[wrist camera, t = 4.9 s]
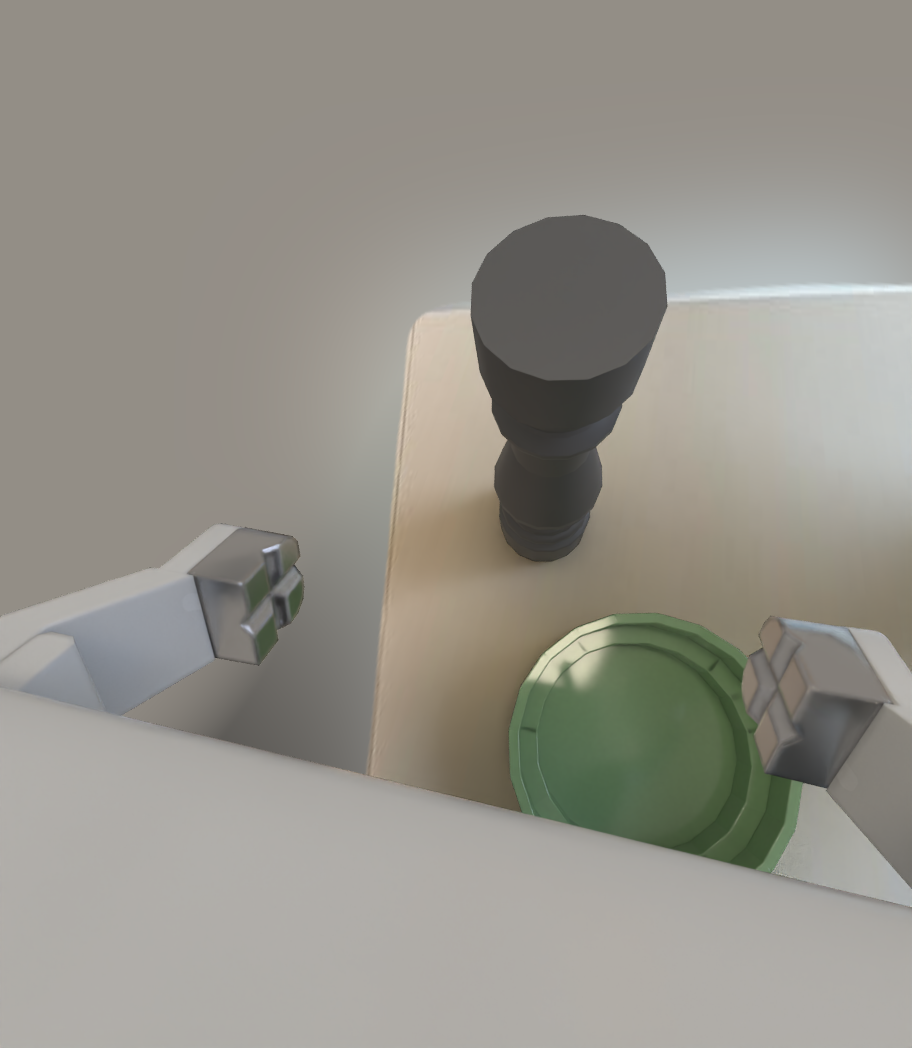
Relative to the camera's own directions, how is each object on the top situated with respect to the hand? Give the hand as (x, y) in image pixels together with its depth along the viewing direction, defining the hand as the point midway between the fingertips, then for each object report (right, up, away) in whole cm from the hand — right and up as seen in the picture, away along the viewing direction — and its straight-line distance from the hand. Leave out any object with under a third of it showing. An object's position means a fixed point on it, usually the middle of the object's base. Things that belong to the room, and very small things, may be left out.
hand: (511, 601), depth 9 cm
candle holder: (+5, +2, +30) cm, 31 cm away
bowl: (+10, -13, +25) cm, 30 cm away
